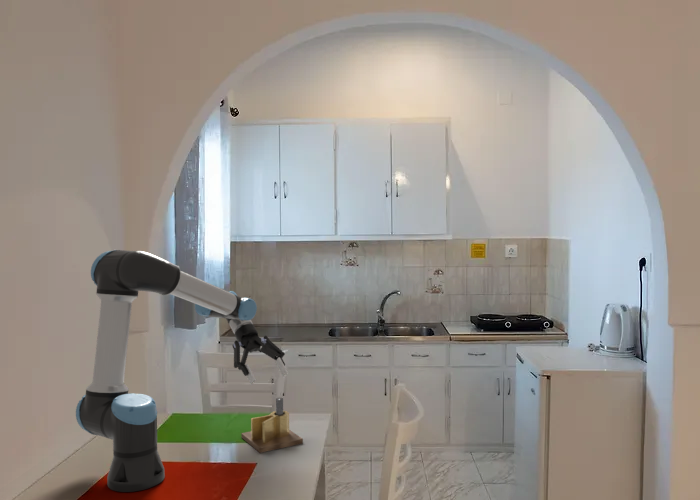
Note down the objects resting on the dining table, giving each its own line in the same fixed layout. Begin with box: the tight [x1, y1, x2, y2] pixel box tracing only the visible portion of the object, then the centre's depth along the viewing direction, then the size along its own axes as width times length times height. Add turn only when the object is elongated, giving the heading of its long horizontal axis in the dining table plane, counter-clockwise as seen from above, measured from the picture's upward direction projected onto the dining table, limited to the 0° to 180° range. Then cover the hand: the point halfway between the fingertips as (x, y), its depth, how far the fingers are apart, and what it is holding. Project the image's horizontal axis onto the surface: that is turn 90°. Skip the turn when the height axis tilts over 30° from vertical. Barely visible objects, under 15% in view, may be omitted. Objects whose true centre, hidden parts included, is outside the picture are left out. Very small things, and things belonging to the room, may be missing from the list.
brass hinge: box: [250, 410, 290, 444], centre depth 196 cm, size 13×9×7 cm
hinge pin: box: [275, 397, 284, 415], centre depth 199 cm, size 2×2×12 cm
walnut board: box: [240, 429, 304, 454], centre depth 198 cm, size 15×16×2 cm
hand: (270, 378), depth 203 cm, fingers open, 13 cm apart
